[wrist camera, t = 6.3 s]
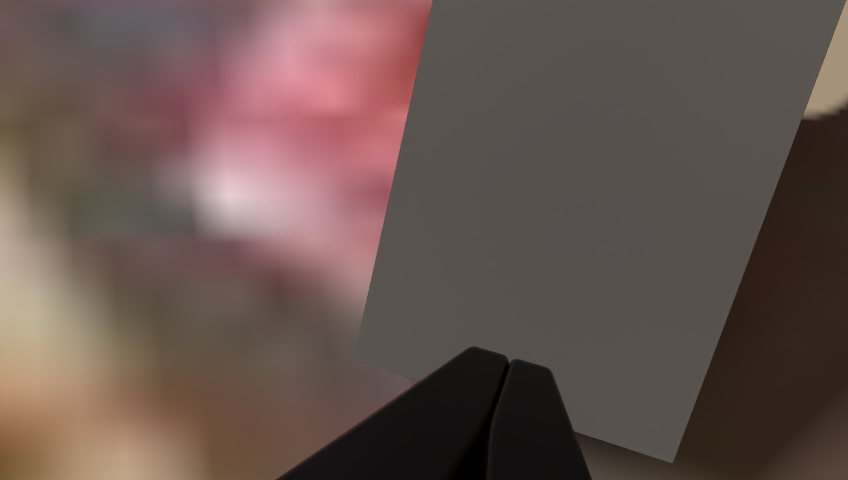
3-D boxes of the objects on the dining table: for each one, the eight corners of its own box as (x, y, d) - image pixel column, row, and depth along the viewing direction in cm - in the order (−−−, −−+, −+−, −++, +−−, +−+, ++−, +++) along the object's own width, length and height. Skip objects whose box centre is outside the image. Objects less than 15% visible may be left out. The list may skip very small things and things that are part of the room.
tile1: (673, 463, 13) (993, -394, 9) (353, 358, 14) (533, -457, 10) (667, 413, 15) (937, -330, 11) (383, 323, 16) (547, -390, 12)
